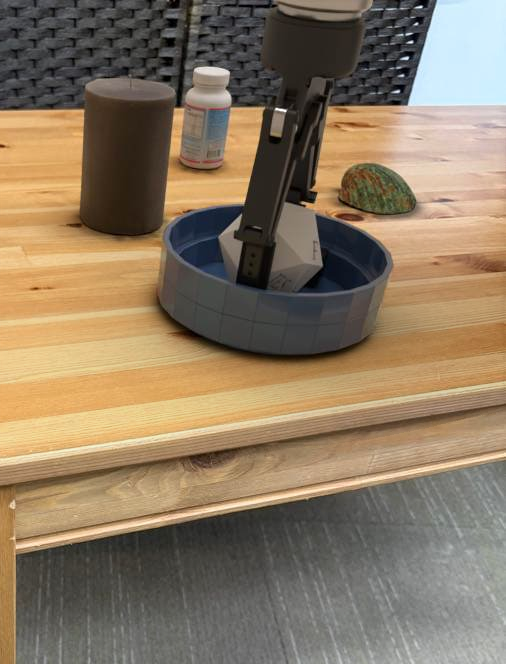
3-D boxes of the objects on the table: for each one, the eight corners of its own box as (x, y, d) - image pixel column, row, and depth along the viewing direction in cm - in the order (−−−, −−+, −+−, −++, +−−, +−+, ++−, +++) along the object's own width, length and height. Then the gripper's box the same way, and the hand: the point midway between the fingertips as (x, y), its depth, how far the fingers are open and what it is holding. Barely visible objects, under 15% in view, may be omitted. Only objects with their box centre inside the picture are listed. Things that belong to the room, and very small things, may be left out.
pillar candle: (131, 243, 89) (143, 91, 79) (62, 219, 93) (65, 72, 83) (179, 219, 95) (196, 76, 85) (112, 198, 99) (121, 58, 89)
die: (241, 328, 72) (331, 245, 67) (183, 250, 73) (267, 163, 68) (273, 327, 79) (358, 252, 74) (220, 256, 81) (299, 178, 75)
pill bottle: (220, 157, 114) (233, 66, 106) (224, 171, 109) (238, 77, 102) (177, 154, 114) (187, 63, 106) (179, 168, 109) (189, 74, 102)
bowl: (391, 289, 84) (409, 231, 80) (350, 383, 69) (369, 318, 65) (198, 245, 90) (206, 189, 86) (122, 323, 75) (127, 260, 71)
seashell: (391, 182, 96) (327, 159, 102) (380, 218, 99) (318, 193, 105) (440, 177, 101) (377, 154, 107) (428, 211, 104) (367, 187, 110)
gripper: (305, -14, 70) (257, 242, 85) (225, 25, 55) (184, 329, 69) (392, -3, 68) (328, 257, 83) (335, 41, 53) (268, 351, 67)
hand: (262, 290), depth 76 cm, fingers closed on die, 10 cm apart
